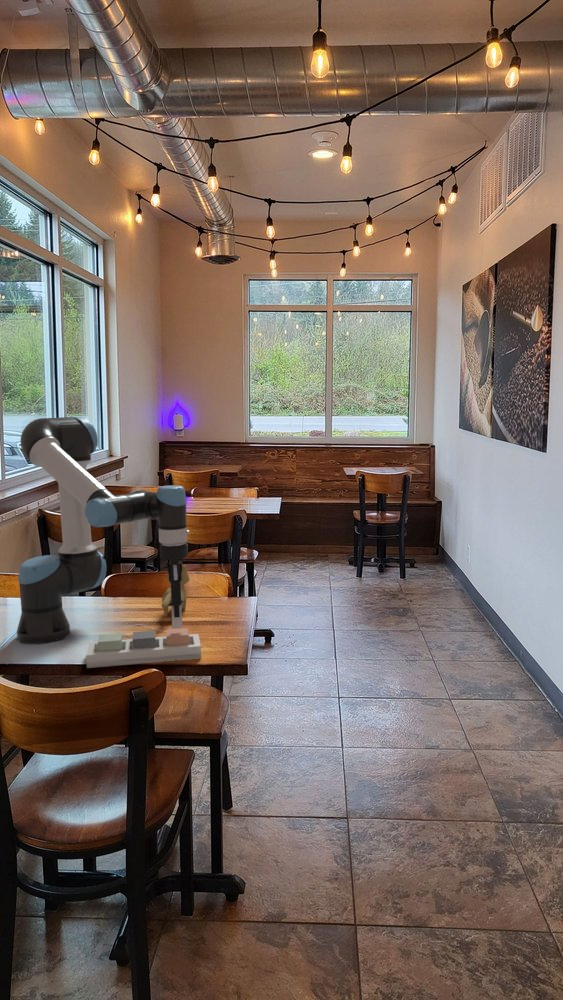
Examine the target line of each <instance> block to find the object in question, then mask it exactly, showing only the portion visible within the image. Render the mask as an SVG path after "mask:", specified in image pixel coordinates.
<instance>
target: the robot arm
mask: <svg viewBox="0 0 563 1000" xmlns="http://www.w3.org/2000/svg"><path fill="white" fill-rule="evenodd" d="M98 444H99V438H98V433H97V430H96V429H95V426H94V424H92V423H91V421H90V420H89V419H88V418H85V417H81V416H65V417H41V418H37V419H34V420H32V421H30V422H28V424H26V426H24V429H23V430H22V432H21V435H20V448H21V451H22V453H23V455H24V457H25V458H26V459H27V460H28V461H29V462H30V463H31V464H32V465H34V466H35V467H38V468H42V469H43V470H44V471H45V472H46V473H47V474H48V475H49V476H51V477H52V479H54V481H56V482H57V483H58V494H59V495H58V497H59V498H58V499H59V508H60V509H59V510H60V522H61V523H60V524H61V536H62V545H61V546H60V548H59V549H58V550H57V551H58V556H57V555H56V554H55V555H54V554H49V555H48V554H47V555H45V554H44V555H43V556H41V555H40V556H35V557H32V558H29V559H27V560H25V561H24V562H22V563H21V564H20V566H19V568H18V579H17V580H18V583H19V585H18V586H19V596H20V597H19V598H20V608H21V613H20V616H19V617H20V618H19V622H18V625H17V629H16V639H17V641H18V642H20V643H24V644H31V645H32V644H33V645H34V644H37V645H39V644H47V643H52V642H53V643H54V642H56V641H60V640H62V639H64V638H66V637H68V636H69V635H70V634H71V626H70V623H69V620H68V618H67V616H66V613H65V610H64V608H63V597H67V596H70V595H74V594H77V593H81V592H86V591H91V590H92V589H95V588H97V587H99V586H100V585H101V584H102V583H103V582H104V580H105V578H106V575H107V562H106V559H105V558H104V555H103V554H102V552H100V551H99V550H98V546H97V545H95V544H94V543H93V540H92V532H91V531H92V530H91V526H92V527H93V528H103V527H104V528H108V527H111V526H115V525H121V524H125V523H131V522H132V523H133V522H137V521H141V520H142V521H143V520H155V521H156V520H157V521H158V542H159V557H160V559H162V560H166V561H167V560H168V561H169V563H166V568H167V569H166V570H167V572H168V573H167V575H168V574H169V581H170V582H169V583H170V587H171V603H169V607H170V608H171V627H172V628H171V629H179V628H183V616H182V615H183V613H182V612H183V611H182V610H183V609H182V608H181V604H182V602H183V600H181V584H180V581H181V580H182V573H181V572H182V566H183V563H182V562H180V560H182V559H183V560H184V559H186V558H187V557H188V556H189V545H188V543H187V542H188V534H190V530H189V529H187V528H188V527H187V526H188V524H187V522H188V521H187V519H188V518H187V497H186V490H185V487H183V485H163V486H162V485H161V486H159V487H157V489H156V491H148V490H144V489H143V490H141V489H140V490H132V491H131V492H129V493H126V494H119V495H115V494H113V493H112V492H111V491H109V490H108V489H107V488H106V487H105V486H104V485H103V484H102V483H101V482H99V480H97V478H95V477H94V476H93V475H92V474H90V472H88V470H87V466H88V465H89V464H90V463H91V462H92V459H91V456H92V454H93V453H95V452H96V450H97V448H98Z"/></svg>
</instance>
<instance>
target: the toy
mask: <svg viewBox="0 0 563 1000" xmlns="http://www.w3.org/2000/svg"><path fill="white" fill-rule="evenodd" d="M181 573H182V580H181V581H180V584H181V600H183V602H182V604H181V608H182V610H186V608H187V590H186V589H185V585H187V583H188V582H190V575H189V574H188V568H187V565H186V564H182V572H181ZM167 582H168V583H170V581H169V574H168V573H167ZM169 603H171V586H170V587H168V588H167V589H166V590H165V591H164V594H163V595H162V598H161V608H162V609H163V615H164V617H165V618H166V617H168V616H169V613H168V610H169V607H170V606H169Z"/></svg>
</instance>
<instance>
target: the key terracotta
mask: <svg viewBox="0 0 563 1000" xmlns="http://www.w3.org/2000/svg"><path fill="white" fill-rule="evenodd" d="M165 632H166V633H165V634H166V635H165V636H166V640H167V645H176V644H188V643H189V635H190V634H189V628H188V627H182V628H173V629H172V628H170V629H169V628H168V629H167V628H166V629H165Z"/></svg>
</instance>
